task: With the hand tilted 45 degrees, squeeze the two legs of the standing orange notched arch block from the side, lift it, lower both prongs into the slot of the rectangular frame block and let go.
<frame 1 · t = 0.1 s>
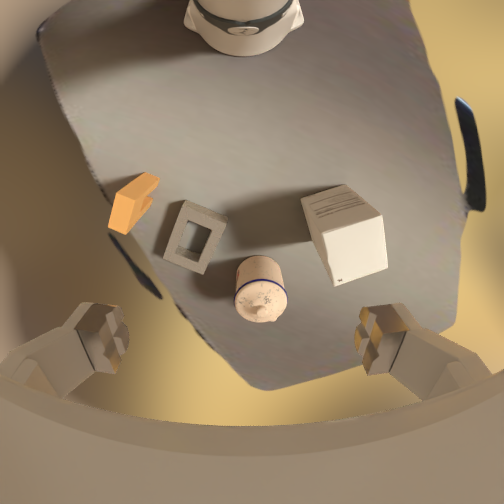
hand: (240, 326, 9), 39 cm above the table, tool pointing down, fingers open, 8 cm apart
supplement box: (328, 212, 49), on the table
rectangular frame block: (195, 234, 50), on the table
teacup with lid: (261, 279, 55), on the table
orange notched arch block: (147, 189, 45), on the table
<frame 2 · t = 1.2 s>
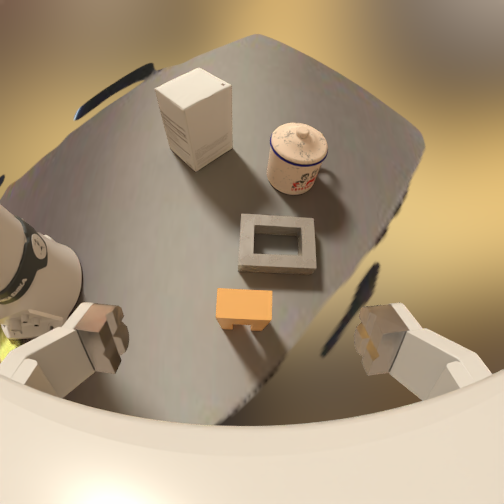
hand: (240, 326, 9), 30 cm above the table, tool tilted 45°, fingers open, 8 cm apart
supplement box: (200, 148, 50), on the table
rectangular frame block: (275, 248, 43), on the table
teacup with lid: (295, 172, 49), on the table
orange notched arch block: (242, 319, 39), on the table
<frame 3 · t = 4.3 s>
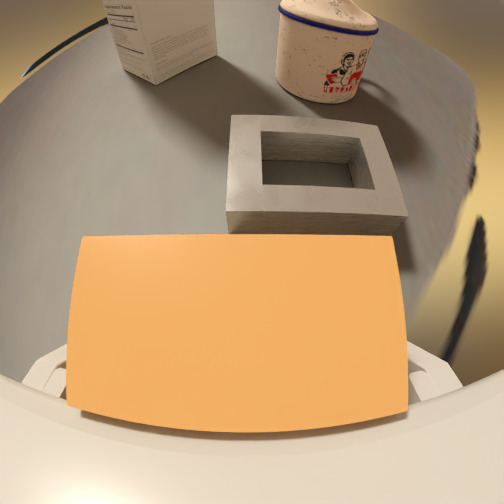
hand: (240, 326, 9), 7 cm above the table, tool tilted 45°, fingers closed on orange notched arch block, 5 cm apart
supplement box: (167, 62, 27), on the table
rectangular frame block: (308, 184, 19), on the table
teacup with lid: (322, 79, 25), on the table
orange notched arch block: (243, 351, 15), on the table, touching gripper
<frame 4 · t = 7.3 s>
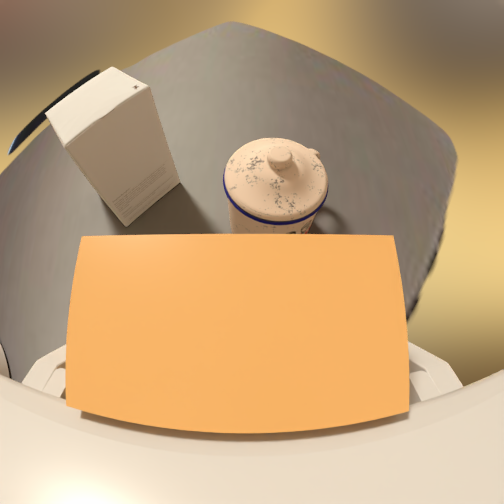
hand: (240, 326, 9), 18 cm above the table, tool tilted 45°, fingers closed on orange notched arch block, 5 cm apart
supplement box: (135, 186, 33), on the table
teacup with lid: (277, 215, 32), on the table
orange notched arch block: (243, 351, 15), point 12 cm above the table, touching gripper
when the fingers open (8 cm above the table, at t = 10.0 s): orange notched arch block stays where it is, resting in rectangular frame block.
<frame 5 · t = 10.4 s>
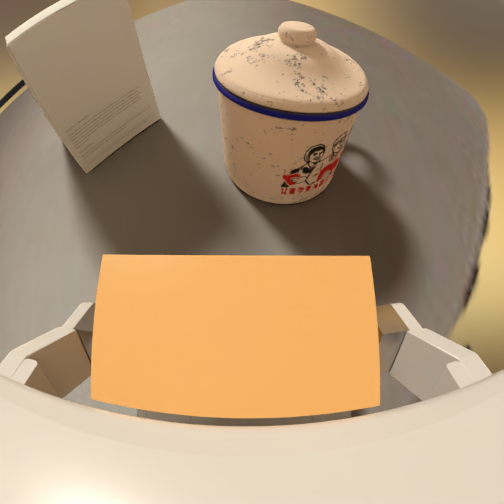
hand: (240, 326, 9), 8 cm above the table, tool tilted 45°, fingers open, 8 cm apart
supplement box: (106, 129, 23), on the table
rectangular frame block: (243, 350, 16), on the table
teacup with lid: (290, 152, 22), on the table
orange notched arch block: (242, 351, 16), resting in rectangular frame block
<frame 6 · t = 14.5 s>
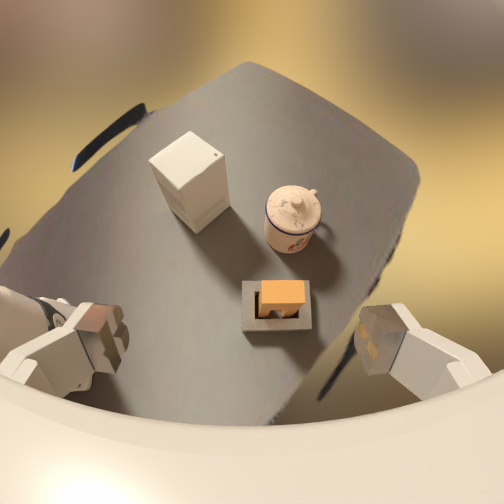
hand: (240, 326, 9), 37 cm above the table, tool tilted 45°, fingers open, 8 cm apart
supplement box: (198, 207, 54), on the table
rectangular frame block: (274, 308, 46), on the table
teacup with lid: (291, 228, 52), on the table
orange notched arch block: (274, 308, 46), resting in rectangular frame block
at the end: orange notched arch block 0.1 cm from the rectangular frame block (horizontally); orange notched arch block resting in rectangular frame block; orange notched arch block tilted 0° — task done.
